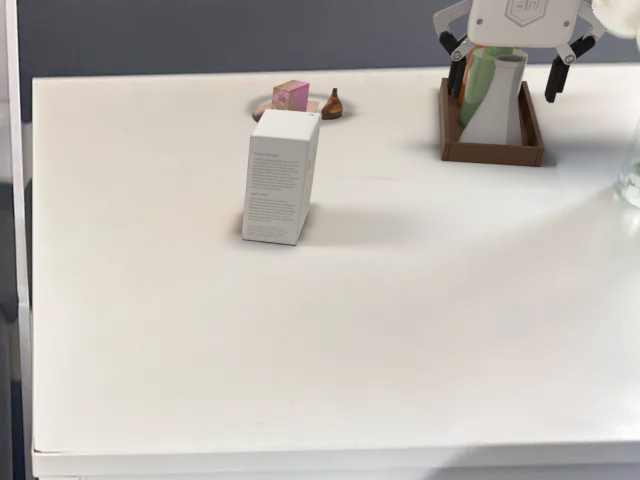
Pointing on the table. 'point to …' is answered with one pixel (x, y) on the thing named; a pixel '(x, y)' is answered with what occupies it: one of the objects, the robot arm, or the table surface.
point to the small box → (280, 175)
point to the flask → (498, 107)
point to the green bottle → (483, 78)
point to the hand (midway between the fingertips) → (501, 97)
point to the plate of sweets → (299, 101)
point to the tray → (490, 153)
